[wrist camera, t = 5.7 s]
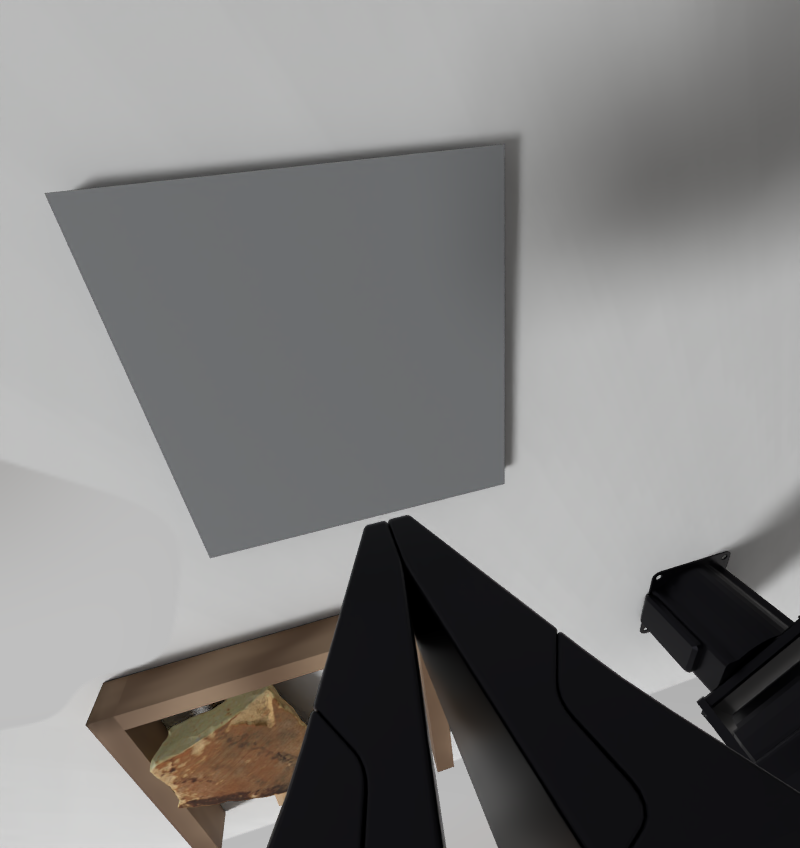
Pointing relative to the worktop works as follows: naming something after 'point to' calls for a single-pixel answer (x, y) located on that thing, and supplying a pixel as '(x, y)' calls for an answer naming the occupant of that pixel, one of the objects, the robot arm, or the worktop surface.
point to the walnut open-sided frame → (208, 683)
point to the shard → (232, 751)
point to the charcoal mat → (308, 333)
